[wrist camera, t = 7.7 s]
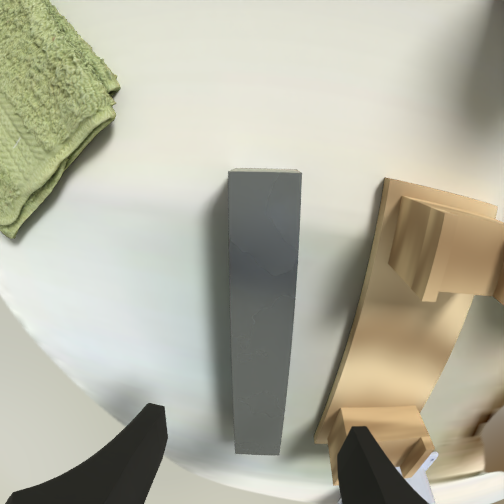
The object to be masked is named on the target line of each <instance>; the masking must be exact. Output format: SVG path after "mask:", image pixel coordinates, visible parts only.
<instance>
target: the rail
mask: <svg viewBox="0 0 504 504" xmlns="http://www.w3.org/2000/svg"><path fill="white" fill-rule="evenodd" d="M301 181H302V173H301V172H300V171H298V170H296V169H261V168H235V169H233V170H231V171H228V210H229V287H230V330H231V363H232V391H233V415H234V437H235V454H251V455H279V452H280V445H281V437H282V429H283V421H284V412H285V404H286V395H287V385H288V376H289V366H290V355H291V345H292V333H293V321H294V309H295V295H296V281H297V266H298V249H299V230H300V208H301Z"/></svg>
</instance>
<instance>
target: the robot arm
mask: <svg viewBox="0 0 504 504" xmlns="http://www.w3.org/2000/svg"><path fill="white" fill-rule="evenodd" d="M167 439H168V434H167V426H166V417H165V408H164V406H160V405H156V404H152V403H148V404H147V405H146V406H145V407H144V408H143V409H142V411H141V412H140V413H139V414H138V415H137V416H136V417H135V418H134V419H133V420H132V421H131V422H130V423H129V424H128V425H127V426H126V427H125V428H124V429H123V430H122V431H121V432H120V433H119V434H118V435H117V436H116V437H115V438H114V439H113V440H112V441H111V442H109V443H108V444H107V445H106V446H104V447H103V448H102V449H101V450H100V451H98V452H97V453H96V454H94V455H93V456H92V457H90V458H89V459H87V460H86V461H85V462H83V463H81V464H80V465H78V466H76V467H75V468H73V469H71V470H69V471H68V472H66V473H64V474H62V475H60V476H58V477H56V478H53V479H51V480H49V481H46V482H44V483H42V484H39V485H36V486H33V487H30V488H26V489H23V490H19V491H16V492H13V493H12V495H11V496H10V497H9V498H8V500H7V502H6V503H5V504H144V502H145V500H146V497H147V495H148V492H149V490H150V487H151V485H152V483H153V480H154V478H155V475H156V473H157V470H158V468H159V466H160V463H161V461H162V458H163V454H164V451H165V447H166V443H167ZM437 457H438V452H432V453H431V454H430V456H429V457H428V458H427V459H426V461H425V462H424V463H423V464H422V466H421V467H420V468H419V469H418V470H417V472H416V473H415V474H414V475H413V476H412V477H411V478H405V479H404V478H403V476H402V473H401V469H400V467H395V466H394V465H393V464H392V462H391V461H390V460H389V458H388V457H387V456H386V454H385V453H384V451H383V450H382V448H381V447H380V446H379V444H378V443H377V441H376V440H375V438H374V437H373V435H372V434H371V432H370V431H369V429H368V428H367V426H352V427H351V429H350V431H349V433H348V435H347V437H346V439H345V441H344V443H343V445H342V447H341V449H340V451H339V453H338V454H337V470H338V481H339V487H340V493H341V498H340V500H339V501H338V502H337V503H338V504H436V502H435V499H434V496H433V493H432V490H431V487H430V484H429V481H428V478H427V476H426V473H425V471H426V470H427V469H428V468H429V467H430V465H431V464H432V463H433V462H434V460H435V459H436V458H437Z"/></svg>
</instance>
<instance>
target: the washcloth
mask: <svg viewBox="0 0 504 504" xmlns="http://www.w3.org/2000/svg"><path fill="white" fill-rule="evenodd" d="M116 78H117V75H114V74H113V73H112V72H111V70H110V69H109V68H108V67H107V65H106V64H105V63H104V59H100V57H97V56H96V55H95V53H94V52H92V47H91V46H90V45H88V43H86V42H85V41H84V40H83V39H82V38H81V36H80V35H78V34H77V31H75V30H74V27H73V26H72V25H71V24H70V23H68V22H67V19H65V17H64V16H62V15H61V14H59V13H58V11H57V9H56V7H55V6H53V5H51V3H50V2H49V0H0V231H1V232H2V233H3V234H4V235H6V236H7V237H9V238H11V239H13V238H15V237H16V234H17V231H18V229H19V228H20V226H21V225H22V224H23V223H24V221H25V220H26V219H27V218H28V217H29V216H30V215H31V214H32V213H33V212H34V211H35V210H36V209H37V208H38V206H39V205H40V204H41V203H42V202H43V201H44V200H45V198H46V197H47V196H48V195H49V194H50V193H51V192H52V190H53V188H54V187H55V185H56V184H57V182H58V181H59V179H60V177H61V176H62V173H63V172H64V171H65V170H66V168H68V166H69V165H70V164H71V163H72V162H73V161H74V160H75V159H76V158H77V157H78V155H79V154H80V153H81V152H82V150H83V149H84V148H85V147H86V146H87V145H88V143H89V142H91V141H92V139H93V138H94V137H95V136H96V135H97V134H98V133H99V132H100V131H101V130H103V129H104V128H105V127H106V126H107V125H109V124H110V123H111V122H112V121H113V120H114V119H115V117H116V113H115V111H114V109H113V108H112V106H113V105H114V104H116V102H114V100H113V99H112V95H113V94H115V93H116V92H117V91H119V90H120V85H119V83H118V82H117V80H116Z"/></svg>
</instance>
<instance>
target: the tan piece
mask: <svg viewBox="0 0 504 504" xmlns="http://www.w3.org/2000/svg"><path fill="white" fill-rule="evenodd" d="M497 208H498V207H497V206H494V205H492V204H488V203H485V202H482V201H478V200H475V199H471V198H468V197H464V196H460V195H457V194H453V193H449V192H445V191H441V190H437V189H433V188H429V187H425V186H421V185H417V184H412V183H408V182H403V181H399V180H394V179H390V178H385V179H384V186H383V192H382V198H381V204H380V209H379V215H378V220H377V225H376V230H375V235H374V240H373V245H372V249H371V254H370V258H369V263H368V267H367V271H366V276H365V280H364V284H363V288H362V292H361V295H360V299H359V303H358V307H357V310H356V314H355V318H354V321H353V325H352V328H351V331H350V335H349V338H348V341H347V345H346V348H345V351H344V354H343V357H342V361H341V364H340V367H339V370H338V373H337V376H336V379H335V381H334V384H333V387H332V390H331V393H330V396H329V398H328V401H327V404H326V407H325V409H324V412H323V414H322V417H321V420H320V422H319V425H318V427H317V430H316V432H315V435H314V442H315V444H328V448H329V455H330V463H331V470H332V478H333V486H334V485H339V481H338V470H337V454H338V453H339V451H340V449H341V447H342V445H343V443H344V441H345V439H346V437H347V435H348V433H349V431H350V429H351V427H352V426H367V428H368V429H369V431H370V432H371V434H372V435H373V437H374V438H375V440H376V441H377V443H378V444H379V446H380V447H381V448H382V450H383V451H384V453H385V454H386V456H387V457H388V458H389V460H390V461H391V462H392V464H393V465H394V466H395V467H400V469H401V473H402V476H403V478H404V479H405V478H411V477H412V476H413V475H414V474H415V473H416V472H417V470H418V469H419V468H420V467H421V466H422V464H423V463H424V462H425V461H426V459H427V458H428V457H429V456H430V454H431V453H432V452H433V450H434V449H435V448H434V445H433V443H432V441H431V438H430V436H429V434H428V431H427V429H426V427H425V424H424V422H423V420H422V418H421V416H420V412H421V410H422V408H423V406H424V405H425V403H426V401H427V399H428V398H429V396H430V394H431V392H432V390H433V388H434V387H435V385H436V383H437V381H438V379H439V377H440V375H441V373H442V371H443V369H444V367H445V365H446V363H447V361H448V358H449V356H450V354H451V352H452V350H453V347H454V345H455V343H456V341H457V338H458V336H459V334H460V331H461V329H462V326H463V324H464V321H465V319H466V316H467V314H468V311H469V308H470V305H471V303H472V300H473V297H474V295H483V296H493V297H494V298H495V299H497V300H498V301H499V302H500V303H501V304H503V305H504V223H503V222H501V221H498V220H496V219H495V218H496V213H497Z"/></svg>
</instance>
